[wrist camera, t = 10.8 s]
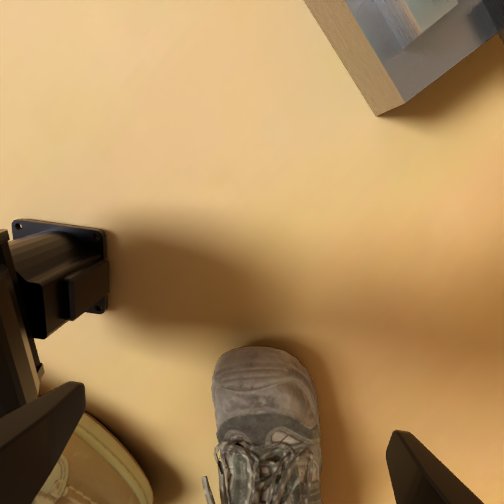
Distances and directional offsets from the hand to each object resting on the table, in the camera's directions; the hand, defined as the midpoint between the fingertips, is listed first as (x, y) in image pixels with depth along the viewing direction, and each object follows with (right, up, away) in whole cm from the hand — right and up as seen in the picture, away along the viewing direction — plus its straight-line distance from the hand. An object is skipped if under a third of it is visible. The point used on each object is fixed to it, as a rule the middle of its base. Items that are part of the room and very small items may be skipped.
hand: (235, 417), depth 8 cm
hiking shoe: (+2, -11, +17) cm, 21 cm away
